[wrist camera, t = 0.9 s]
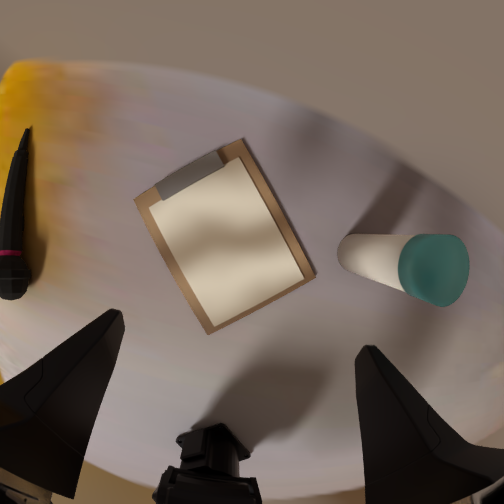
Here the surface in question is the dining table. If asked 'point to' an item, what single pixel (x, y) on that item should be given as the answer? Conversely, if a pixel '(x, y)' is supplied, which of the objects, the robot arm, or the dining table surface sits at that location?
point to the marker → (410, 263)
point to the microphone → (14, 228)
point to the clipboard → (223, 237)
